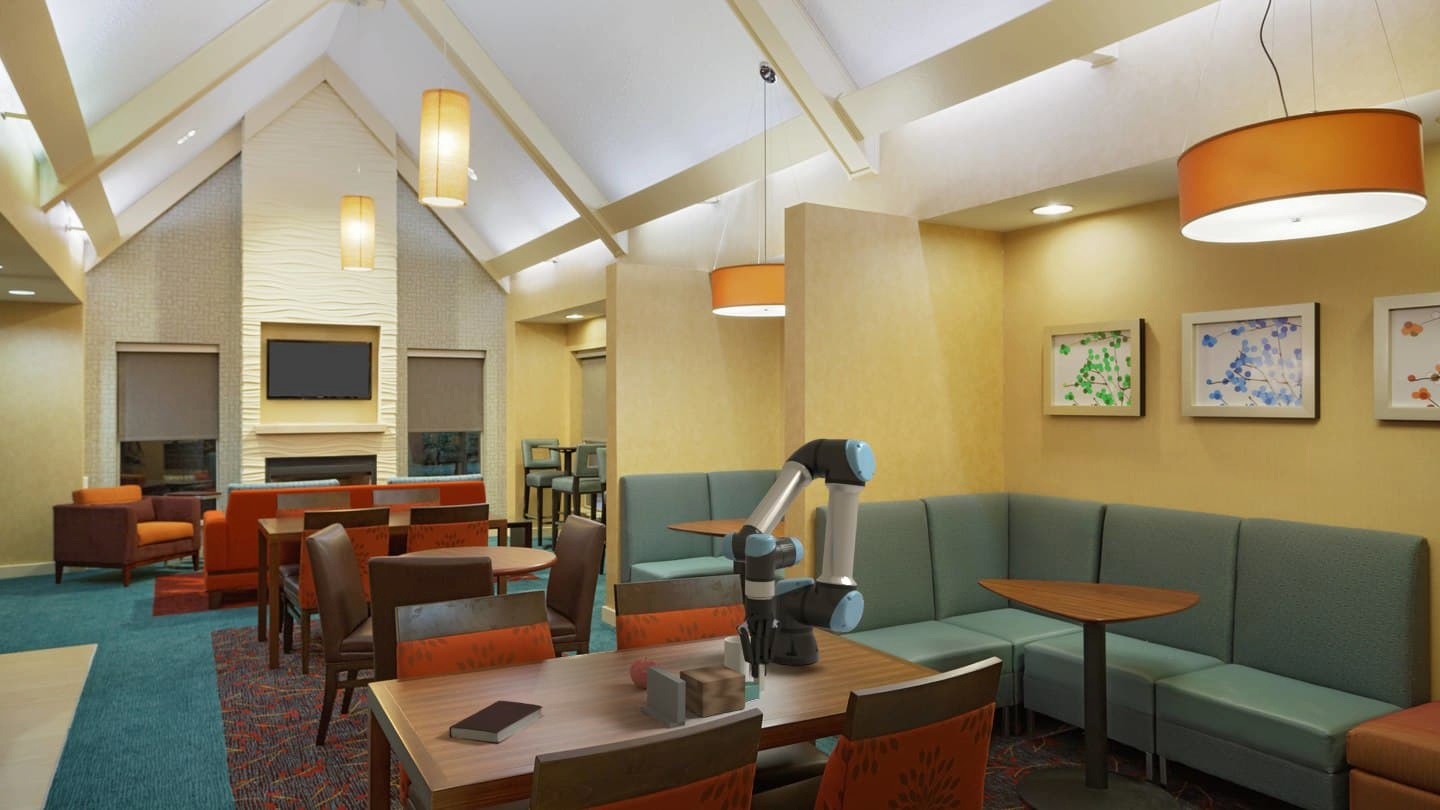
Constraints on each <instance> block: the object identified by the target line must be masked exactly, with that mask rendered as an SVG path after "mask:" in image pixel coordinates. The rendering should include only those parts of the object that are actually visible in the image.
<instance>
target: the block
mask: <svg viewBox="0 0 1440 810" xmlns="http://www.w3.org/2000/svg"><path fill="white" fill-rule="evenodd" d="M679 678H680V679H682V680H684V681H686V686H685V709H688V710H690V711H691V712H694V713H695V714H696V715H699V716H700V717H702V718H703V717H708V716H709V717H710V716H715V715H719V714H724V713H729V712H733V711H738V710H742V709H743V710H744V709H745V708H746V702H745V675H744V674H742V673H739V672H737V671H735V670H733V669H731V668H728V667H726V666H725V664H724V665H723V664H722V663H718V664H713V665H709V666H708V665H707V666H703V667H701V666H700V667H696V668H690V669H683V670H680V671H679Z"/></svg>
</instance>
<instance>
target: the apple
mask: <svg viewBox="0 0 1440 810" xmlns="http://www.w3.org/2000/svg"><path fill="white" fill-rule="evenodd" d="M654 665H655V666H657V667H659V665H658V663H657V662H656V661H655V660H654V659H652V658H651V659H650V658H647V657H645V658H640V659H639V658H638V659H637V660H635V661H634V662H633V663H632V664H631V666H630V668H629V669H630V670H629V676H630V679H631V680H632V683H633V684H634V685H635V686H636V687H638V688H640V689H647V667H648V666H654Z"/></svg>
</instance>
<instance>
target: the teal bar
mask: <svg viewBox="0 0 1440 810" xmlns="http://www.w3.org/2000/svg"><path fill="white" fill-rule="evenodd" d="M755 699H759V700H760V685H758V684H756V683H754V681H751V680H749V681H747V682H745V703H749V702H748V701H750V702H752V701H751V700H755ZM755 701H756V700H755Z"/></svg>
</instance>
